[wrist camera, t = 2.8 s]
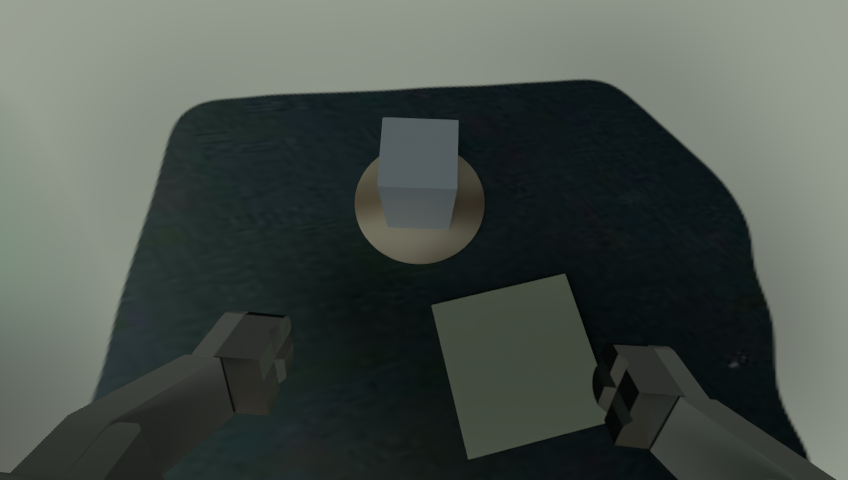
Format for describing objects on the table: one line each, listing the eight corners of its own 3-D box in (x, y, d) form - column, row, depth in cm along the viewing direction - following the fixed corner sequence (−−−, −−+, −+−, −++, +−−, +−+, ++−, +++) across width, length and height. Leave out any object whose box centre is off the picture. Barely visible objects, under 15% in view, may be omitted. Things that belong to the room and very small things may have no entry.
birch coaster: (500, 247, 29) (500, 247, 28) (368, 277, 28) (367, 277, 28) (465, 133, 31) (465, 132, 31) (345, 158, 31) (344, 157, 31)
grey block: (448, 229, 29) (457, 189, 22) (388, 227, 29) (377, 186, 22) (450, 174, 30) (458, 120, 23) (391, 172, 30) (382, 117, 23)
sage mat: (614, 419, 25) (616, 420, 25) (467, 458, 24) (468, 459, 24) (564, 274, 28) (565, 273, 28) (431, 305, 27) (431, 305, 27)
